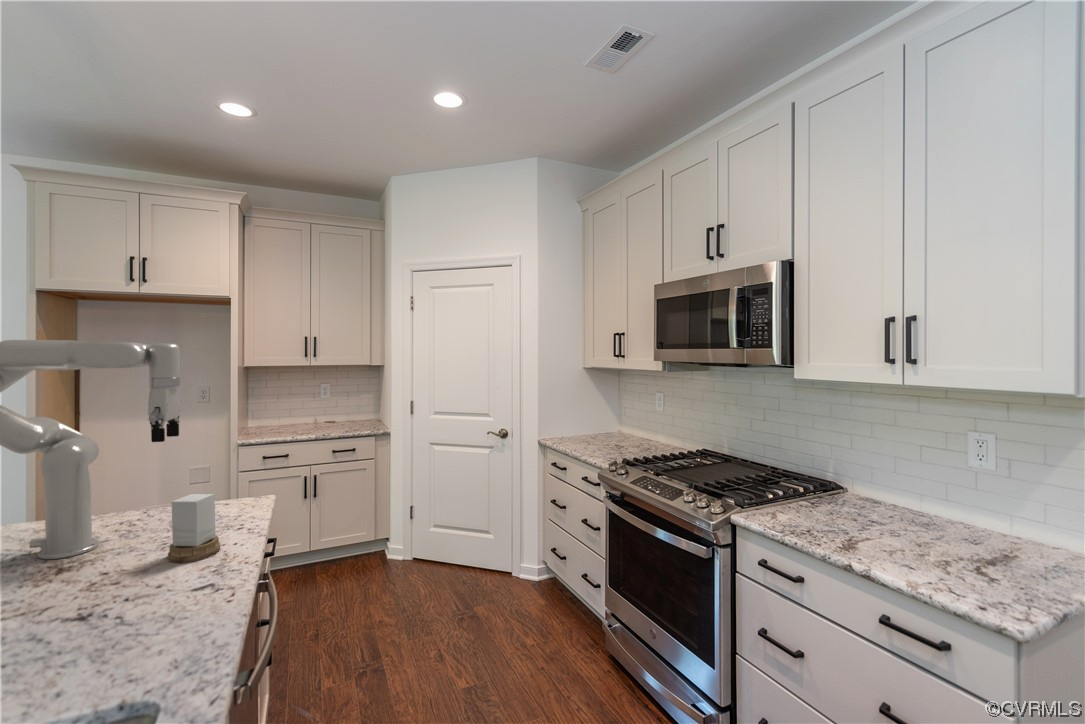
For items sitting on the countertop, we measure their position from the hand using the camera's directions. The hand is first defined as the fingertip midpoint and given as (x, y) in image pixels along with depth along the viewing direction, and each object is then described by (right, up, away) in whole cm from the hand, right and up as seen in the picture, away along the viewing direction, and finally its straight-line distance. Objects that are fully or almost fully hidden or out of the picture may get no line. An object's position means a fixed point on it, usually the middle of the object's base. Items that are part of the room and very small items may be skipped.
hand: (165, 439), depth 151 cm
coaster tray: (+18, -31, -12) cm, 38 cm away
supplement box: (+18, -27, -13) cm, 35 cm away
